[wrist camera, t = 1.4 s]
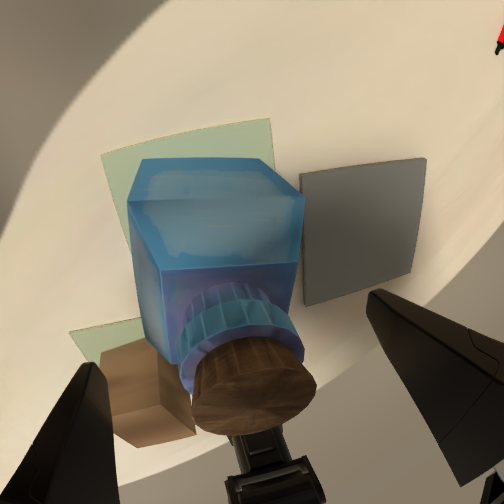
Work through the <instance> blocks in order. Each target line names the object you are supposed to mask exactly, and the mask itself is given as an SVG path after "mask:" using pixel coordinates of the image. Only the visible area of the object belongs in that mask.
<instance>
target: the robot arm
mask: <svg viewBox="0 0 504 504" xmlns="http://www.w3.org/2000/svg"><path fill="white" fill-rule="evenodd" d="M366 314H367V317H368V319H369V321H370V323H371V325H372V327H373V329H374V331H375V333H376V335H377V338H378V340H379V342H380V344H381V346H382V348H383V350H384V352H385V354H386V355H387V357H388V359H389V360H390V362H391V363H392V365H393V366H394V368H395V370H396V372H397V373H398V375H399V376H400V378H401V380H402V382H403V383H404V385H405V387H406V388H407V390H408V392H409V393H410V395H411V397H412V399H413V400H414V402H415V404H416V406H417V407H418V409H419V411H420V412H421V414H422V416H423V418H424V419H425V421H426V423H427V425H428V426H429V428H430V430H431V432H432V434H433V436H434V437H435V439H436V441H437V443H439V444H438V445H439V447H440V449H441V451H442V453H443V454H444V457H445V458H446V460H447V462H448V464H449V466H450V468H451V470H452V472H453V474H454V476H455V478H456V480H457V482H458V484H459V485H460V487H462V486H464V485H466V484H467V483H469V482H471V481H472V480H474V479H475V478H477V477H479V476H480V475H482V474H483V473H484V472H486V471H488V470H489V469H491V468H492V467H493V468H494V469H495V471H494V472H493V473H492V474H490V475H489V476H488V477H487V478H486V481H485V486H484V490H483V494H482V498H481V502H480V504H504V343H503V342H500V341H497V340H495V339H492V338H489V337H487V336H485V335H483V334H480V333H478V332H476V331H474V330H472V329H469V328H468V329H467V327H465V326H463V325H461V324H459V323H456V322H454V321H452V320H450V319H448V318H445V317H443V316H441V315H439V314H437V313H435V312H432V311H430V310H428V309H426V308H424V307H421V306H419V305H417V304H415V303H413V302H410V301H408V300H406V299H404V298H401V297H399V296H397V295H395V294H392V293H390V292H388V291H386V290H384V289H380V288H379V289H376V290H373V291H370V292H369V294H368V300H367V306H366ZM282 433H283V429H282V424H280V425H278V426H276V427H273V428H271V429H268V430H265V431H261V432H257V433H252V434H246V435H235V436H231V435H227V437H228V439H229V441H230V443H231V445H232V446H234V449H235V453H236V456H237V460H238V463H239V467H240V470H241V474H240V475H236V476H228V480H226V481H225V486H226V490H227V494H228V502H229V504H325V503H326V498H325V495H324V492H323V489H322V486H321V484H320V482H319V480H318V478H317V476H316V474H315V472H314V470H313V468H312V466H311V464H310V462H309V460H308V458H307V456H306V455H305V456H302V457H301V458H298V459H295V460H292V458H291V455H290V453H289V450H288V448H287V445H286V442H285V440H284V437H283V434H282ZM241 489H242V491H241ZM0 504H120V500H119V493H118V484H117V475H116V464H115V452H114V436H113V422H112V414H111V407H110V399H109V391H108V382H107V379H106V377H105V375H104V374H103V372H102V371H101V370H100V368H99V367H98V366H97V364H96V363H95V362H85V363H83V364H81V366H80V367H79V369H78V370H77V372H76V373H75V375H74V376H73V378H72V379H71V381H70V382H69V384H68V386H67V387H66V389H65V390H64V392H63V393H62V395H61V396H60V398H59V400H58V401H57V403H56V404H55V406H54V408H53V409H52V411H51V413H50V414H49V416H48V417H47V419H46V421H45V422H44V424H43V426H42V427H41V429H40V431H39V433H38V434H37V436H36V438H35V439H34V441H33V445H31V446H30V448H29V450H28V452H27V453H26V455H25V457H24V459H23V460H22V462H21V464H20V465H19V467H18V468H17V470H16V471H15V473H14V475H13V476H12V478H11V479H10V481H9V482H8V484H7V485H6V487H5V488H4V490H3V491H2V493H1V494H0Z"/></svg>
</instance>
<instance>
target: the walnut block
mask: <svg viewBox="0 0 504 504" xmlns="http://www.w3.org/2000/svg"><path fill="white" fill-rule="evenodd" d="M99 368H100V370H101V371H102V372H103V374H104V375H105V377H106V379H107V382H108V391H109V399H110V407H111V414H112V422H113V433H114V434H116V435H117V436H119V437H120V438H122V439H123V440H125V441H126V442H128V443H130V444H131V445H133V446H135V447H136V448H141V447H146V446H151V445H156V444H161V443H165V442H170V441H174V440H178V439H182V438H186V437H190V436H194V435H197V434H196V429H195V423H194V421H193V419H192V417H191V408H192V406H191V399H190V393H189V392H188V391H187V390H186V389H185V388H184V386H183V384H182V382H181V379H180V376H179V368H178V364H170V363H169V362H168V361H167V360H166V359H165V358H164V357H163V356H162V355H161V354H160V353H159V352H158V351H157V350H156V349H155V348H154V347H153V346H152V345H151V344H150V343H149V341H148V340H147V339H146V338H142V339H139V340H136V341H133V342H131V343H128V344H125V345H122V346H119V347H116V348H113V349H110V350H107V351H104V352H102V353H101V356H100V364H99Z"/></svg>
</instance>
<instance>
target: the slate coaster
mask: <svg viewBox="0 0 504 504" xmlns="http://www.w3.org/2000/svg"><path fill="white" fill-rule="evenodd" d="M426 163H427V159H425V158H415V159H405V160H396V161H387V162H379V163H371V164H363V165H355V166H348V167H341V168H334V169H328V170H321V171H315V172H308V173H302V174H299V179H300V194H302V195H303V196H304V197H305V206H304V216H303V225H302V241H303V275H304V304H305V306H306V307H307V306H311V305H314V304H317V303H321V302H324V301H327V300H330V299H334V298H337V297H340V296H343V295H346V294H349V293H352V292H355V291H359V290H362V289H365V288H368V287H371V286H374V285H376V284H379V283H382V282H385V281H388V280H391V279H394V278H397V277H399V276H402V275H405V274H408V273H410V272H411V267H412V262H413V257H414V252H415V247H416V241H417V236H418V230H419V223H420V217H421V210H422V202H423V194H424V185H425V175H426Z"/></svg>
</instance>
